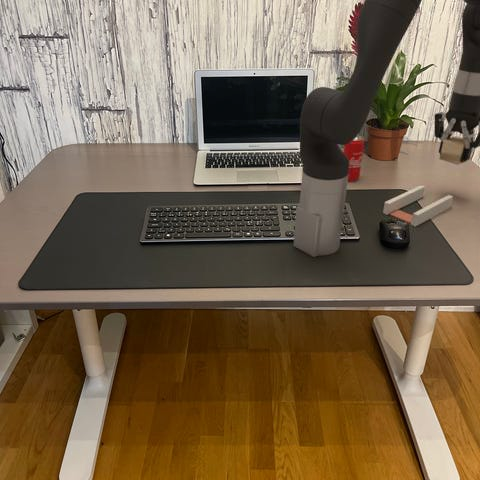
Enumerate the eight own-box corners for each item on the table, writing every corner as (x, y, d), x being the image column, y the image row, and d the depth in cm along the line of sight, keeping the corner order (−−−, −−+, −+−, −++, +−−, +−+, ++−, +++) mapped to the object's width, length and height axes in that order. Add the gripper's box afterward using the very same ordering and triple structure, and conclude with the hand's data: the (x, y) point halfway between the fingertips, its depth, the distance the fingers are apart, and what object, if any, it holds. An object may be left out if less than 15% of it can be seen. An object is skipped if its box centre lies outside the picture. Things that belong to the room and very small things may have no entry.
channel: (415, 226, 115) (417, 215, 114) (382, 213, 121) (384, 202, 120) (450, 207, 124) (453, 196, 123) (418, 195, 130) (421, 185, 129)
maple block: (457, 164, 122) (462, 145, 120) (439, 159, 125) (443, 140, 123) (469, 159, 126) (474, 140, 123) (451, 154, 129) (456, 135, 126)
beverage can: (358, 175, 142) (363, 134, 136) (360, 182, 137) (365, 141, 131) (339, 174, 142) (344, 134, 136) (341, 181, 138) (346, 140, 132)
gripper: (433, 86, 119) (419, 154, 127) (492, 98, 109) (472, 170, 118) (449, 82, 123) (435, 148, 132) (507, 93, 114) (487, 163, 122)
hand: (453, 158), depth 125 cm, fingers closed on maple block, 5 cm apart
